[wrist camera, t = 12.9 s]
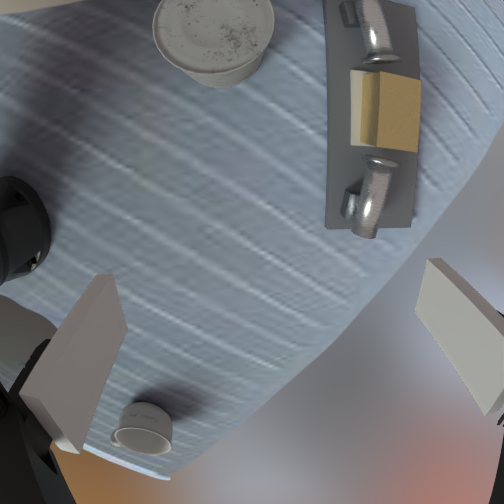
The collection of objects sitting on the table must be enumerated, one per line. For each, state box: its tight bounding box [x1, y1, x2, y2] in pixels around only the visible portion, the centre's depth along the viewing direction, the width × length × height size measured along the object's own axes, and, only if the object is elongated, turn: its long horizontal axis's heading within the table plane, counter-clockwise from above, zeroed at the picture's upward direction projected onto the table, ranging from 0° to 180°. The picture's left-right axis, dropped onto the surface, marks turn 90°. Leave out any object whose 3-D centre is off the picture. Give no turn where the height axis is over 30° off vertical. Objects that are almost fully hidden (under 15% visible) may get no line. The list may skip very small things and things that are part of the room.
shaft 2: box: [340, 153, 401, 239], centre depth 34 cm, size 9×4×6 cm, turn 172°
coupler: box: [360, 71, 422, 152], centre depth 30 cm, size 8×5×5 cm, turn 179°
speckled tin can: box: [152, 0, 275, 88], centre depth 25 cm, size 10×10×12 cm
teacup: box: [110, 402, 172, 455], centre depth 51 cm, size 14×11×8 cm
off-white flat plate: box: [350, 70, 376, 147], centre depth 32 cm, size 7×9×1 cm
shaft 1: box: [338, 0, 402, 65], centre depth 26 cm, size 9×4×6 cm, turn 12°
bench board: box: [323, 0, 420, 229], centre depth 33 cm, size 12×30×1 cm, turn 2°
